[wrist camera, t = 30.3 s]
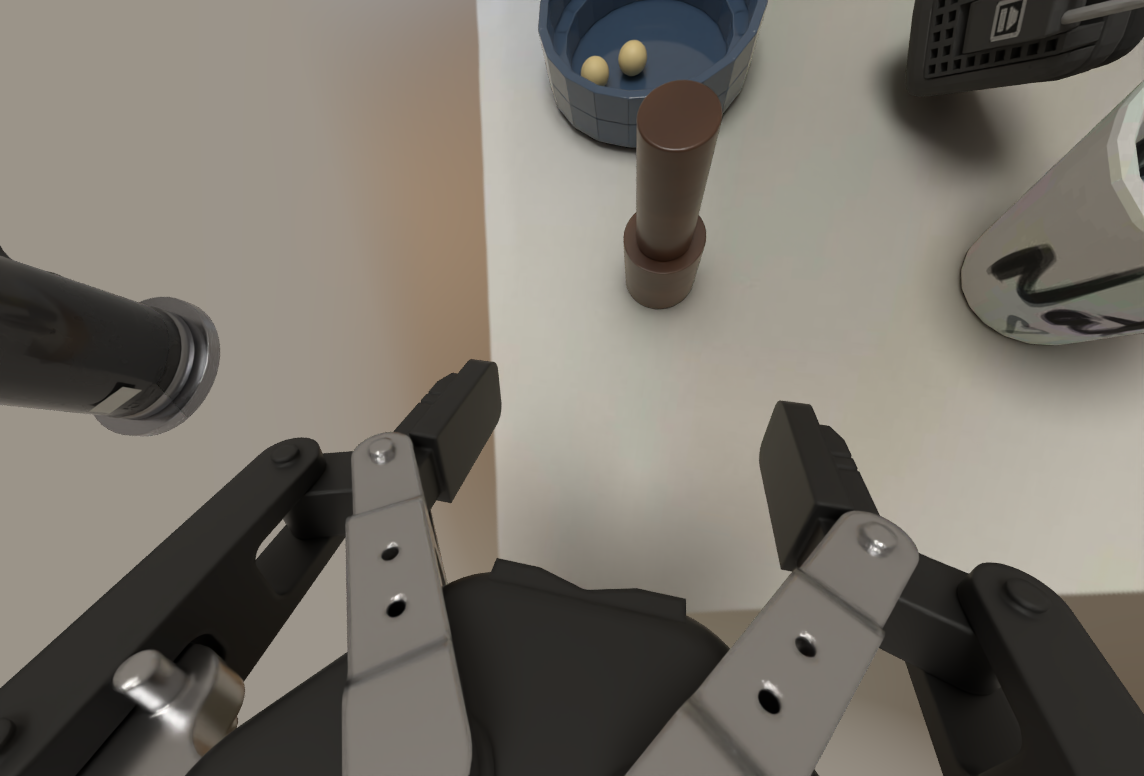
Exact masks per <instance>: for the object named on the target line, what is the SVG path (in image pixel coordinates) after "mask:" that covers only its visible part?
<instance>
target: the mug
mask: <svg viewBox="0 0 1144 776" xmlns="http://www.w3.org/2000/svg"><path fill="white" fill-rule="evenodd" d="M961 281H962V290H963V293H964V295H965V297H966V299H967V302H968V304H969V306H970V308H971V309H972V310H973V311H974V312H975V313H976V315H977V316H978V317H979V318H980V319H981V320H982V321H983V322H984V323H985V324H986V325H988V326H989V327H991V328H993V329H994V330H996V331H997V332H999V333H1001V334H1002V335H1004V336H1006V337H1010V338H1013V339H1016V340H1019V341H1022V342H1025V343H1029V344H1043V345H1063V344H1070V343H1077V342H1084V341H1091V340H1098V339H1105V338H1111V337H1118V336H1125V335H1132V334H1139V333H1144V80H1143V81H1142V82H1141V83H1140V84H1139V85H1138V86H1137V87H1136V88H1135V89H1134V90H1133V91H1132V92H1131V93H1130V94H1129V95H1128V96H1127V97H1126V98H1125V99H1124V100H1123V101H1121V102H1120V103H1119V104H1118V105H1117V106H1116V107H1115V108H1114V109H1113V110H1112V111H1111V112H1110V113H1109V114H1108V115H1107V116H1106V117H1105V118H1104V119H1103V120H1102V121H1101V122H1100V123H1098V124H1097V125H1096V126H1095V127H1094V128H1093V129H1092V130H1091V131H1090V132H1089V133H1088V134H1087V135H1086V136H1085V137H1084V138H1083V139H1082V140H1081V141H1080V142H1079V143H1078V144H1076V145H1075V146H1074V147H1073V148H1072V149H1071V150H1070V151H1069V152H1068V153H1067V154H1066V155H1065V156H1064V157H1063V158H1062V159H1061V160H1060V161H1059V162H1058V163H1057V164H1056V165H1055V166H1053V167H1052V168H1051V169H1050V170H1049V171H1048V172H1047V173H1046V174H1045V175H1044V176H1043V177H1042V178H1041V179H1040V180H1039V181H1038V182H1037V183H1036V184H1035V185H1034V186H1033V187H1031V188H1030V189H1029V190H1028V191H1027V192H1026V193H1025V194H1024V195H1023V196H1022V197H1021V198H1020V199H1019V200H1018V201H1017V202H1016V203H1015V204H1014V205H1013V206H1012V207H1011V208H1010V209H1008V210H1007V211H1006V212H1005V213H1004V214H1003V215H1002V216H1001V217H1000V218H999V219H998V220H997V221H996V222H995V223H994V224H993V225H992V226H991V227H990V228H989V229H988V230H986V231H985V232H984V233H983V234H982V235H981V236H980V238H979V239H978V240H977V241H976V242H975V243H974V244H973V246H972V247H971V248H970V249H969V250H968V252H967V255H966V258H965V261H964V263H963V266H962V269H961Z"/></svg>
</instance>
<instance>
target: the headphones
mask: <svg viewBox="0 0 1144 776" xmlns="http://www.w3.org/2000/svg"><path fill="white" fill-rule="evenodd" d="M1143 37H1144V0H915V4H914V10H913V16H912V24H911V32H910V41H909V49H908V58H907V66H906V88H907V90H908V92H909V93H910V94H911V95H914V96H932V95H942V94H950V93H958V92H966V91H973V90H981V89H989V88H997V87H1005V86H1013V85H1021V84H1028V83H1036V82H1046V81H1055V80H1060V79H1063V78H1066V77H1070V76H1073V75H1076V74H1079V73H1083V72H1086V71H1089V70H1091V69H1094V68H1097V67H1100V66H1104V65H1107V64H1109V63H1111V62H1114V61H1116V60H1118V59H1119V58H1121V57H1123V56H1125V55H1126V54H1128V53H1129V52H1130V51H1131V50H1132V49H1133V48H1134V47H1135V46H1136V45H1137V44H1138V43H1139V42H1140V41H1141V40H1142V38H1143Z"/></svg>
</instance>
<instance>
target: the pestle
mask: <svg viewBox="0 0 1144 776" xmlns="http://www.w3.org/2000/svg"><path fill="white" fill-rule="evenodd" d="M721 121H722V107H721V103H720V100H719V98H718V97H717V95H716V94H715V93H714V91H712V90H711V89H710V88H709V87H707V86H706V85H704V84H702V83H699V82H696V81H691V80H676V81H671V82H668V83H665V84H663V85H660V86H659V87H657V88H655V89H654V90H653V91H651V92H650V93H649V94H648V95H647V96H646V97H645V99H644V100H643V102H642V103H641V105H640V107H639V110H638V113H637V155H636V213H635V214H634V215H633V216H632V217H631V219H630V220H629V222H628V223H627V226H626V228H625V232H624V258H625V276H626V285H627V289H628V291H629V293H630V294H631V296H632V297H633V298H634V299H635V300H636V301H637V302H638V303H640V304H641V305H644V306H646V307H649V308H653V309H664V308H668V307H672V306H674V305H676V304H678V303H680V302H681V301H682V300H683V299H684V298H685V297H686V296H687V295H688V294H689V292H690V290H691V288H692V286H693V282H694V279H695V276H696V272H697V269H698V266H699V263H700V259H701V256H702V253H703V250H704V246H705V242H706V230H705V226H704V223H703V221H702V219H701V217H700V216H699V211H700V207H701V203H702V199H703V194H704V190H705V186H706V182H707V178H708V174H709V170H710V166H711V162H712V158H713V154H714V150H715V145H716V141H717V137H718V133H719V129H720V125H721Z"/></svg>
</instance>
